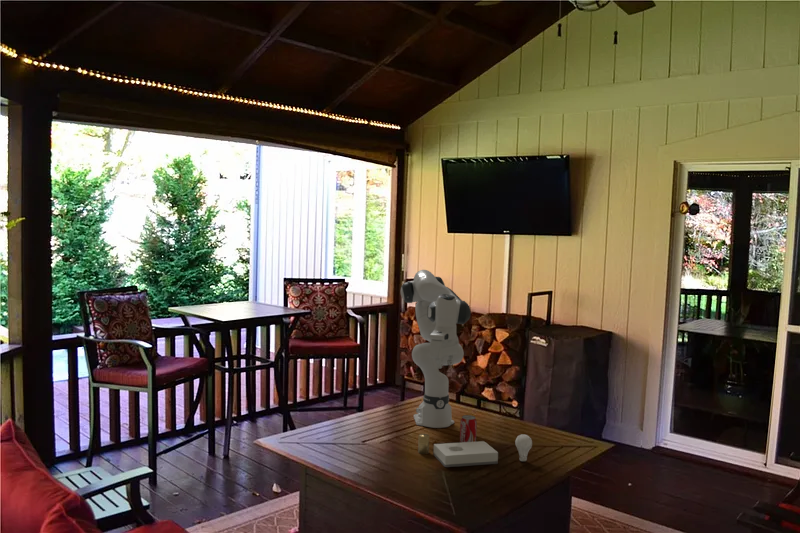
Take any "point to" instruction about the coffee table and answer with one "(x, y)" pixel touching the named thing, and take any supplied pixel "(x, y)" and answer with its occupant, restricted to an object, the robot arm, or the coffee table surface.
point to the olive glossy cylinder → (423, 444)
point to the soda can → (468, 429)
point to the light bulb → (523, 446)
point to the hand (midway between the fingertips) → (444, 366)
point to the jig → (465, 454)
